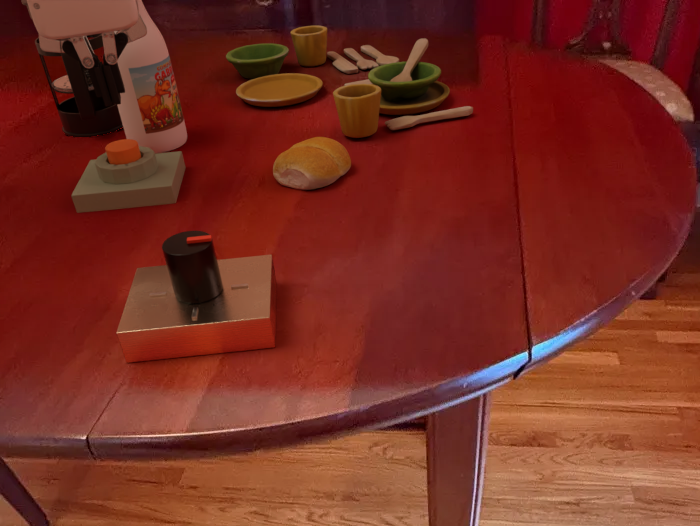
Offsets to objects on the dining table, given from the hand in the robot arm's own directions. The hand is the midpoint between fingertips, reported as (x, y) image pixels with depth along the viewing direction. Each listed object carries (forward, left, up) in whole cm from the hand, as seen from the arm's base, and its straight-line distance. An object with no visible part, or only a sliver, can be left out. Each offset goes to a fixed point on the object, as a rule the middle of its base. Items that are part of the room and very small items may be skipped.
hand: (113, 101), depth 78 cm
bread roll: (+21, -1, -10) cm, 23 cm away
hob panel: (+11, -29, -10) cm, 33 cm away
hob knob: (+11, -29, -7) cm, 32 cm away
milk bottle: (+1, +14, -10) cm, 17 cm away
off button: (0, 0, -6) cm, 7 cm away
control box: (0, 0, -10) cm, 10 cm away
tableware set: (+25, +28, -10) cm, 39 cm away
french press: (-9, +23, -10) cm, 27 cm away
